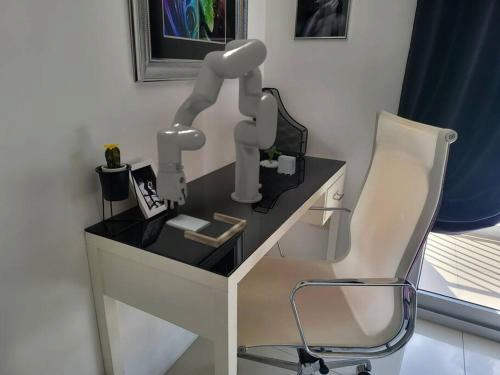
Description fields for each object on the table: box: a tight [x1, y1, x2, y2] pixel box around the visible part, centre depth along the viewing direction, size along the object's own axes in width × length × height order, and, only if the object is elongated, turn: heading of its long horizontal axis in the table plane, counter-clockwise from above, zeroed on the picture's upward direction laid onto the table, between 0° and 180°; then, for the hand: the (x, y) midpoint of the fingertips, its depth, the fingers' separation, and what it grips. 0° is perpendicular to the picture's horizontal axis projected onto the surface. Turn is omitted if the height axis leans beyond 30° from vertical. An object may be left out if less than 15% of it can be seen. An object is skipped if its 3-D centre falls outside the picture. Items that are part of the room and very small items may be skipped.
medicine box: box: [277, 154, 297, 176], centre depth 175 cm, size 8×4×9 cm, turn 58°
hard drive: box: [165, 213, 212, 233], centre depth 116 cm, size 2×8×12 cm
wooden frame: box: [184, 212, 247, 248], centre depth 111 cm, size 17×12×2 cm
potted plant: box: [259, 145, 284, 168], centre depth 190 cm, size 12×12×10 cm
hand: (172, 217), depth 119 cm, fingers closed
